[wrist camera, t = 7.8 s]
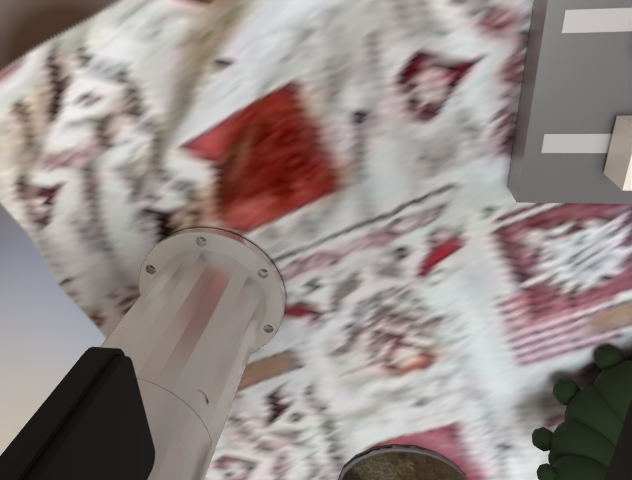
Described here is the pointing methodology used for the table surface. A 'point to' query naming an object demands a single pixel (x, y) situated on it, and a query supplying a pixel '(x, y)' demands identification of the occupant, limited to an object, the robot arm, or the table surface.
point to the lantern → (400, 465)
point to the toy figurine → (588, 422)
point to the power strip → (572, 101)
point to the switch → (620, 154)
